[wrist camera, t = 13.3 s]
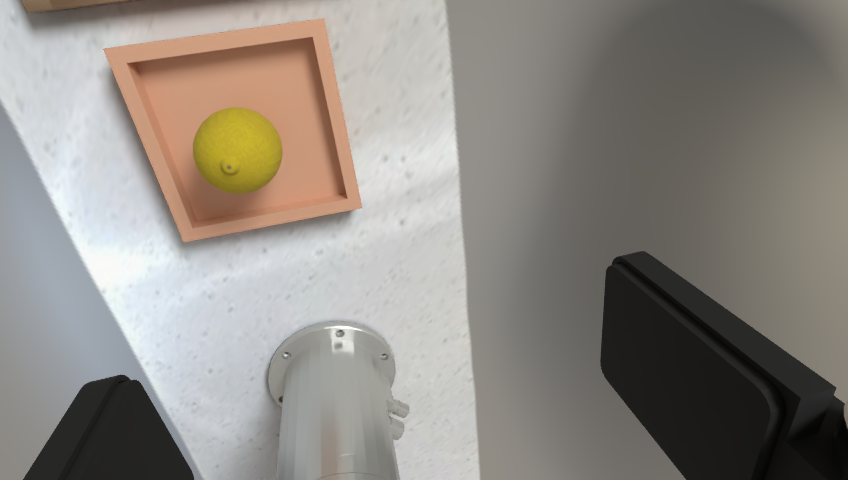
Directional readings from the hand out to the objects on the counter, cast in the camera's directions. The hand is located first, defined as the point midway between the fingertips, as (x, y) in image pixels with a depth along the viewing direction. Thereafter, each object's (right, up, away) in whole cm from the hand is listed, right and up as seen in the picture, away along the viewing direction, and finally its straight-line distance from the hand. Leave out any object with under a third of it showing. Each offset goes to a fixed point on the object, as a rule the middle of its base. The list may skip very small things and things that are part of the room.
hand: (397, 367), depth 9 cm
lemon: (-13, +10, +25) cm, 30 cm away
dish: (-13, +11, +26) cm, 31 cm away
